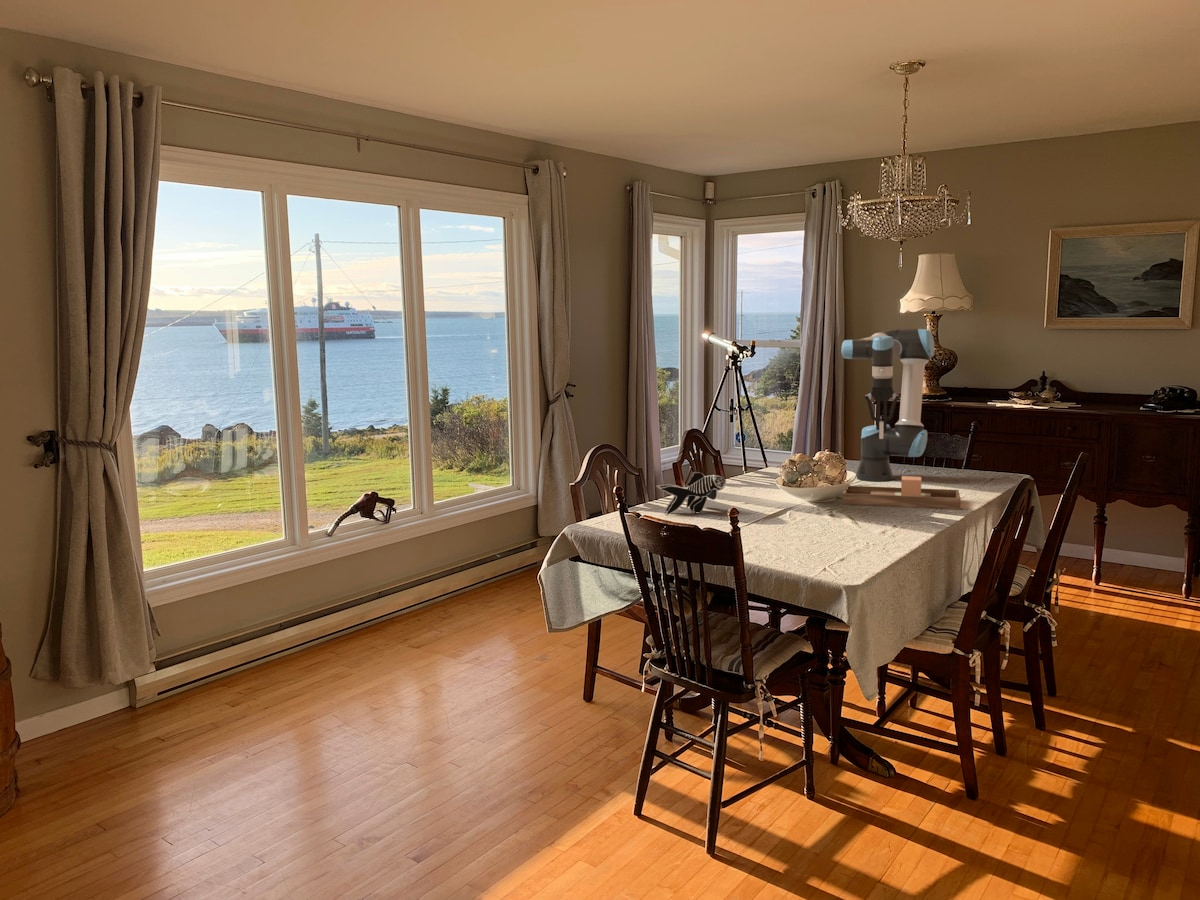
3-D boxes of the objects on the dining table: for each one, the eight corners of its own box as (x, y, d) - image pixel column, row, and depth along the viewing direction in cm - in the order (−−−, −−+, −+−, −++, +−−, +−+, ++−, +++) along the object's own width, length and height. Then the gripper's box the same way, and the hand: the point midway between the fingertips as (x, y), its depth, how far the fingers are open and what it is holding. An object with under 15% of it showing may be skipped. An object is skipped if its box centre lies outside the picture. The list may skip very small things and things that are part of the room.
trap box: (844, 495, 359) (845, 485, 358) (958, 500, 345) (958, 489, 344) (842, 504, 344) (842, 493, 343) (960, 509, 330) (960, 498, 330)
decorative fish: (738, 505, 332) (729, 467, 329) (670, 525, 327) (661, 486, 324) (723, 497, 347) (715, 460, 344) (659, 516, 342) (650, 479, 339)
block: (901, 493, 347) (901, 476, 346) (920, 494, 345) (921, 476, 343) (901, 497, 340) (901, 479, 339) (920, 498, 338) (921, 480, 337)
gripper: (864, 378, 341) (863, 439, 345) (900, 378, 337) (899, 440, 341) (864, 376, 348) (863, 436, 352) (900, 376, 344) (899, 436, 348)
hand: (881, 438), depth 347 cm, fingers closed
